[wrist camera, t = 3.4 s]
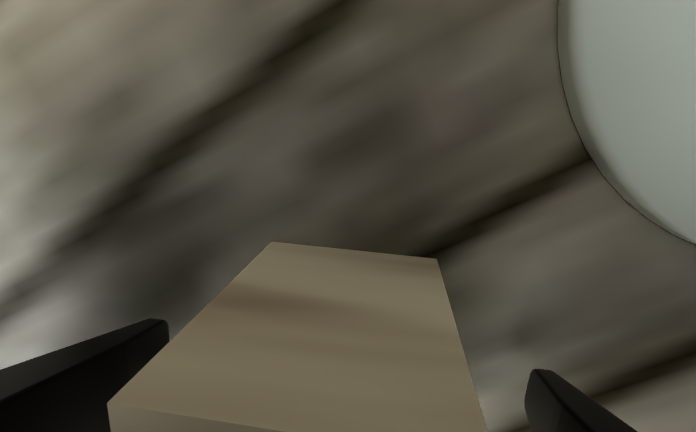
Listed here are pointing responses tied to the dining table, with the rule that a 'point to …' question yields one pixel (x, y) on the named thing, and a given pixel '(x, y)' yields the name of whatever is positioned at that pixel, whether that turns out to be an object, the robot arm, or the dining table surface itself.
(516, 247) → the dining table surface
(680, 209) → the dish
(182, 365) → the birch block
